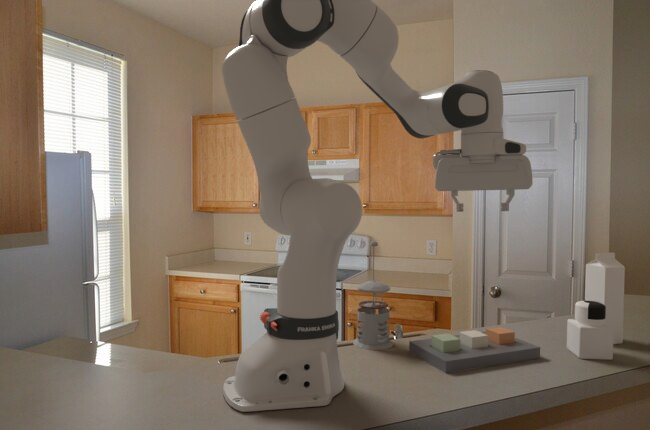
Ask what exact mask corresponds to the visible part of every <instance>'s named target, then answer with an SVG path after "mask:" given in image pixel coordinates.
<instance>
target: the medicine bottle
mask: <svg viewBox="0 0 650 430" xmlns="http://www.w3.org/2000/svg"><path fill="white" fill-rule="evenodd" d="M605 316H606V307H605V305H603V304H602V303H599V302H595V301H585V300H579V301H577V302H576V303H575V305H574V318H568V319H567V324H566V325H567V326H566V327H567V328H566V349H567V350H569V351H570V353H572V354H573V355H574V356H576V357H577V358H578V359H581V360H583V359H584V360H603V361H604V360H605V361H607V360H608V361H612V360H613V358H614V344H613V335H614V329H613V328H612V327H610V326H608V325H606V324H605V323H604V322H605Z"/></svg>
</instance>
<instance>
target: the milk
mask: <svg viewBox="0 0 650 430" xmlns="http://www.w3.org/2000/svg"><path fill="white" fill-rule="evenodd" d="M625 273H626V267H625V266H624V265H623V264H622V263H621V262H620V261H619V260H617V259H616V252H597V253H595V259H594V260H592V261H590V262H587V263H586V264H585V276H584V277H585V278H584V279H585V281H584V282H585V283H584V284H585V285H584V301H595V302H599V303H602V304H603V305H605V307H606V316H605V322H604V323H605V324H606V325H608V326H610V327H612V328H613V329H614V335H613V345H618V344H623V341H624V340H623V338H624V337H623V336H624V333H623V332H624V311H625V310H624V309H625V308H624V305H625V303H624V302H625V279H626V278H625V277H626V276H625V275H626V274H625Z"/></svg>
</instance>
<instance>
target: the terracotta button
mask: <svg viewBox="0 0 650 430" xmlns="http://www.w3.org/2000/svg"><path fill="white" fill-rule="evenodd" d="M485 332H486V335H488V341H490V342H493V343H495V344H497V345H504V344H511V343H514V338H516V335H515V333H516V332H515V331H513V330H511V329H508V328H505V327H502V326H498V327H489V328H485Z"/></svg>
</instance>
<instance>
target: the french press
mask: <svg viewBox="0 0 650 430" xmlns="http://www.w3.org/2000/svg"><path fill="white" fill-rule="evenodd" d="M378 245H379V244H378V242H377V240H373V241H371V242H370V243H369V246H370V247H373V248H372V249H373V250H372V251H373V252H372V255H373V257H372V262H373V263H372V280H368V281H365V282H362V283H360V284H359V285H357V287H356V289H357V290H359V291H360V292H364V293H370V294H371V293H372V300H363V301H362V300H361V301H360V302H359V303H358V306H359V308H357V315H356V316H357V318H356V321H357V323H356V324H357V325H356V326H357V329H356V331H357V333H356V338H355V339H354V340H353V342H352V344H353V345H354V346H355V347H356V348H360V349H362V350H363V349H364V350H368V351H370V350H371V351H380V350H387V349H391V348H392V347H393V346H394V342H393V341H392V340H391V339H390V309H388V307H389V304H388V303H387V302H385V301H383V300H384V296H383V293H387V292H390V291H391V287H390V286H389V285H388V284H386V283H384V282H381V281H379V280H375V247H378ZM378 293H379V294H378ZM380 296H381V300H379V301H378V300H377V297H380Z"/></svg>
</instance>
